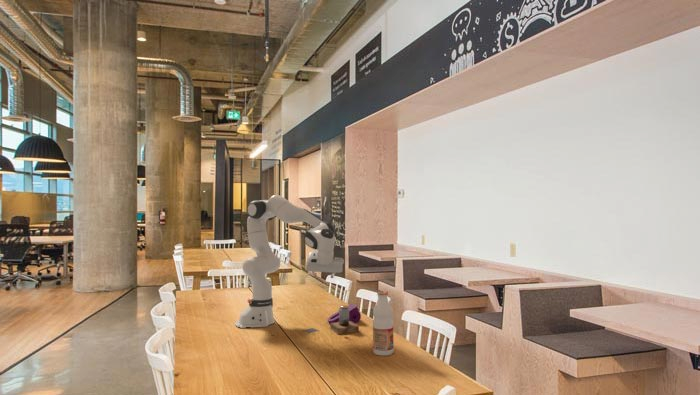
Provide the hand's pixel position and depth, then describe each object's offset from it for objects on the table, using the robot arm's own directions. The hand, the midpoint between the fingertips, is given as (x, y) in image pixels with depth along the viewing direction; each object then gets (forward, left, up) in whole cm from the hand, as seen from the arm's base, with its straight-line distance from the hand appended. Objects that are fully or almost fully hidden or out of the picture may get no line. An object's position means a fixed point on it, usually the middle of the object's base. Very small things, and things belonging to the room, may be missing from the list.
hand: (323, 276), depth 250 cm
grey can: (+9, -7, -26) cm, 28 cm away
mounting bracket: (+15, +9, -29) cm, 34 cm away
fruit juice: (+12, -49, -29) cm, 58 cm away
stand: (+9, -7, -29) cm, 31 cm away
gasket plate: (-8, 0, -29) cm, 30 cm away
